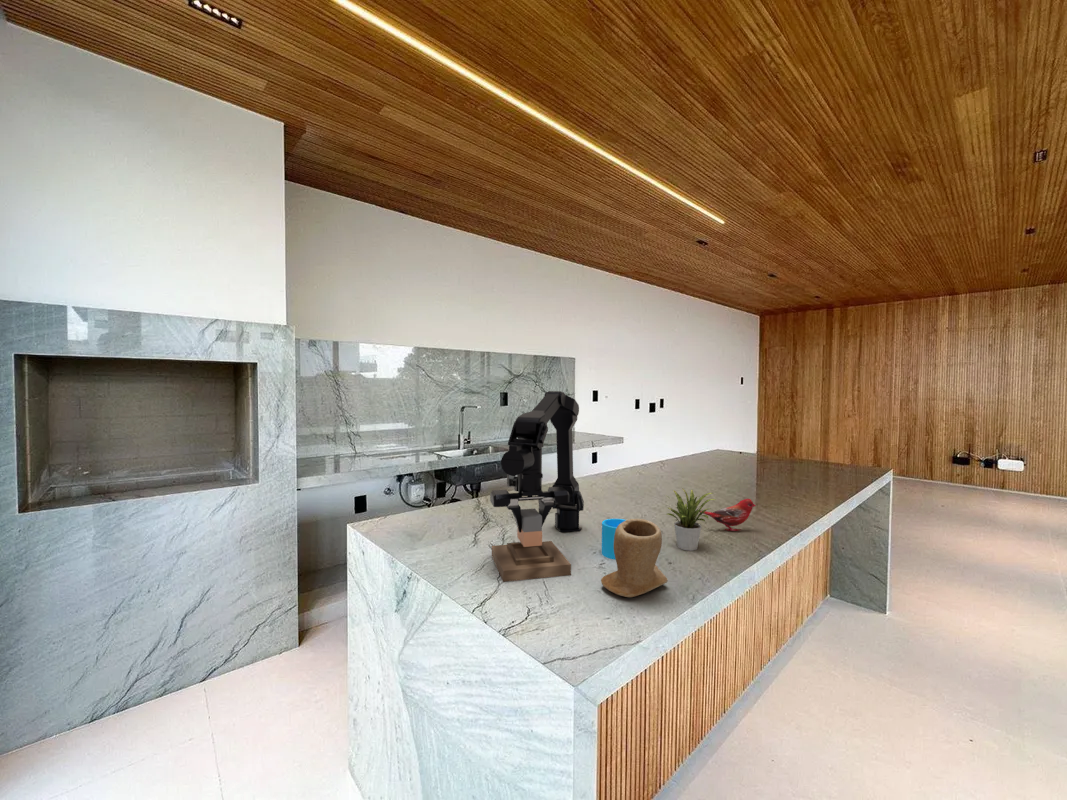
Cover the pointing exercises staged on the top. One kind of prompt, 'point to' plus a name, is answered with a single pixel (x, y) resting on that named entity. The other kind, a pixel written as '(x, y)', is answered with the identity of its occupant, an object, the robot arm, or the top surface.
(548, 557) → the walnut cradle stand
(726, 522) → the decorative bird figurine
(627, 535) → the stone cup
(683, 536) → the house plant
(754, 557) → the top surface
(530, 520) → the block
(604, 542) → the mug
